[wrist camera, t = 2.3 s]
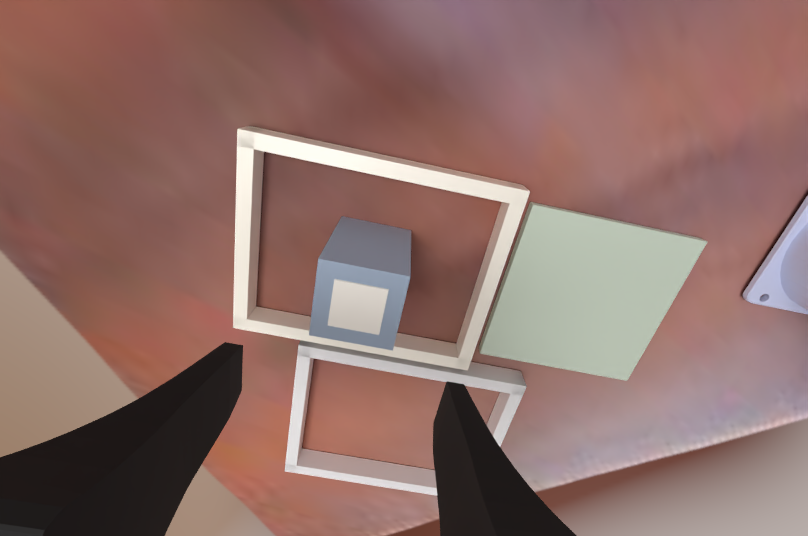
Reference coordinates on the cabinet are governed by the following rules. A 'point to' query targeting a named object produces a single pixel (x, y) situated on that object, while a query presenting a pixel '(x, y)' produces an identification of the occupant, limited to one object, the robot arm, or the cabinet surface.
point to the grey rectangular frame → (476, 376)
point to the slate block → (362, 283)
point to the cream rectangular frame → (261, 140)
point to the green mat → (586, 291)
